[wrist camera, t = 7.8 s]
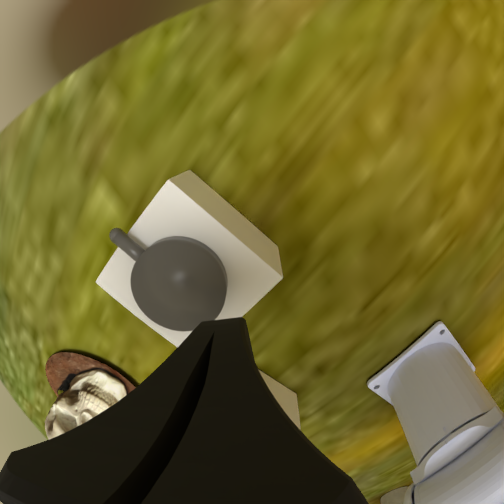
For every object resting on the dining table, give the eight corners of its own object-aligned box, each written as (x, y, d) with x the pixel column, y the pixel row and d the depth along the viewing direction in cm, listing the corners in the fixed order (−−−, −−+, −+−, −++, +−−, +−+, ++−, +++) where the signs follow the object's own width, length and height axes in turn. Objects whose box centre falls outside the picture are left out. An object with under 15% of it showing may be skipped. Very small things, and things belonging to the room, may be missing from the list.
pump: (249, 253, 18) (246, 288, 14) (200, 303, 19) (186, 346, 15) (164, 180, 17) (134, 194, 13) (121, 238, 18) (86, 266, 14)
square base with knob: (278, 246, 19) (283, 277, 15) (206, 317, 21) (195, 359, 17) (189, 169, 17) (168, 179, 13) (125, 252, 19) (95, 282, 15)
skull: (56, 322, 21) (88, 446, 15) (149, 337, 29) (191, 431, 23) (21, 382, 23) (45, 474, 18) (98, 387, 32) (127, 465, 26)
